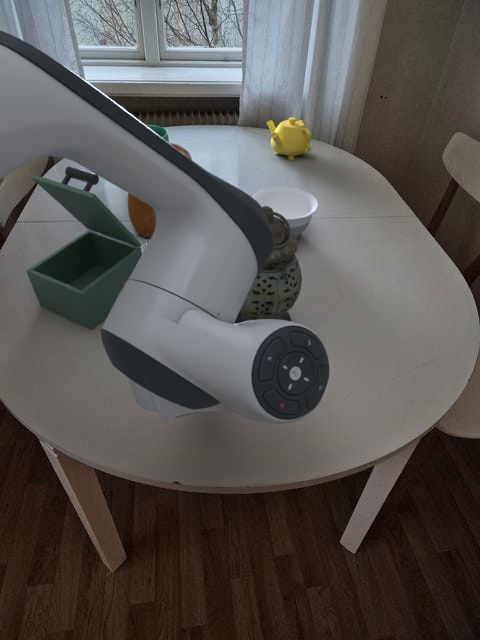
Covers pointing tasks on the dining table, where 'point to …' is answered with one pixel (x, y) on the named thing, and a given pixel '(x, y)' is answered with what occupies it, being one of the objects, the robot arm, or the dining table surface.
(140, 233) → the bread
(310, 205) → the bowl
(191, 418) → the dining table surface
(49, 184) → the chest lid
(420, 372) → the dining table surface
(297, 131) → the teapot
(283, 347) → the robot arm
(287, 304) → the lantern
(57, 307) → the chest
